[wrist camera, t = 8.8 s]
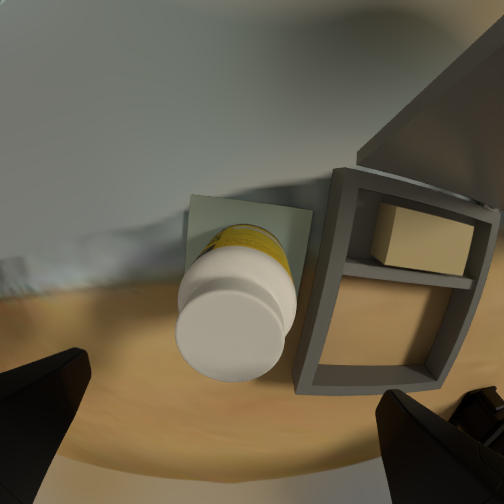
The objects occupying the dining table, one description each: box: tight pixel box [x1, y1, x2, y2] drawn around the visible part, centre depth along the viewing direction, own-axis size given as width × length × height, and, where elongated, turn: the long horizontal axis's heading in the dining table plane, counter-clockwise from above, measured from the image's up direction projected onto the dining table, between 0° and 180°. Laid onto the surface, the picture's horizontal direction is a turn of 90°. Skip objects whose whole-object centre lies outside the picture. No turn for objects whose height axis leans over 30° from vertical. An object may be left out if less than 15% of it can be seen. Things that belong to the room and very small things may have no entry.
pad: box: [184, 195, 313, 301], centre depth 19 cm, size 8×8×1 cm
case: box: [292, 167, 501, 396], centre depth 18 cm, size 16×14×3 cm
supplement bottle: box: [175, 223, 297, 382], centre depth 14 cm, size 5×5×10 cm
